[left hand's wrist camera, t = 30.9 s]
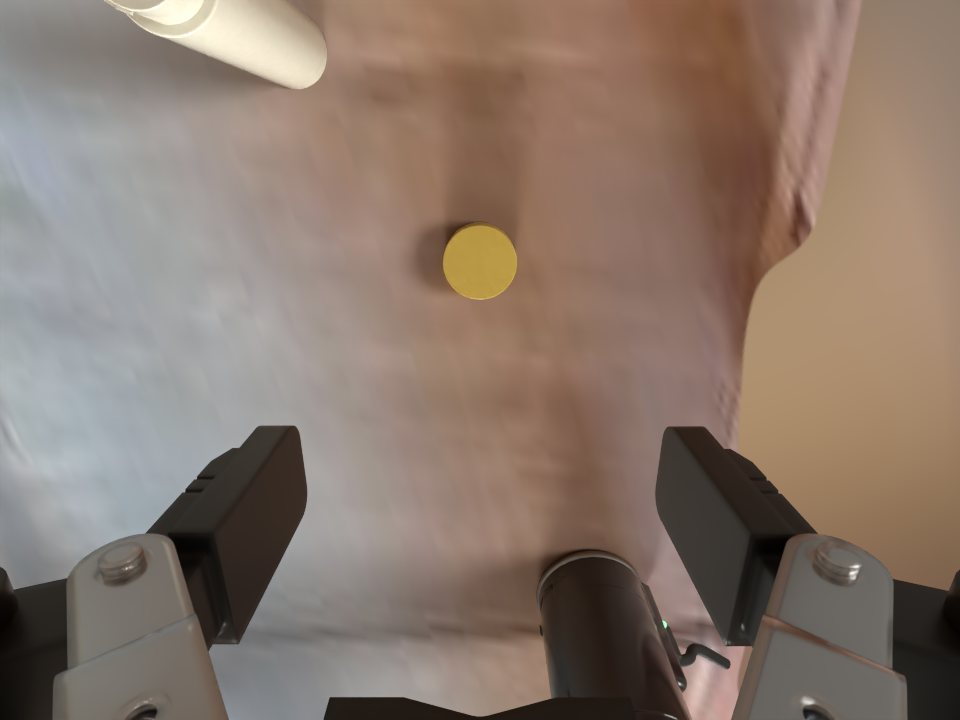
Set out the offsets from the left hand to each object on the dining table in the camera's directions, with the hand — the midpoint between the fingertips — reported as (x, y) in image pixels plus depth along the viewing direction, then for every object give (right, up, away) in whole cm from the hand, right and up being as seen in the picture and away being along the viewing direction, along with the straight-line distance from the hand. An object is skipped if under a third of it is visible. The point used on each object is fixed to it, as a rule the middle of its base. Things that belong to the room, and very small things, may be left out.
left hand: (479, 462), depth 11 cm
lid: (0, +9, +23) cm, 25 cm away
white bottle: (-12, +21, +20) cm, 32 cm away
